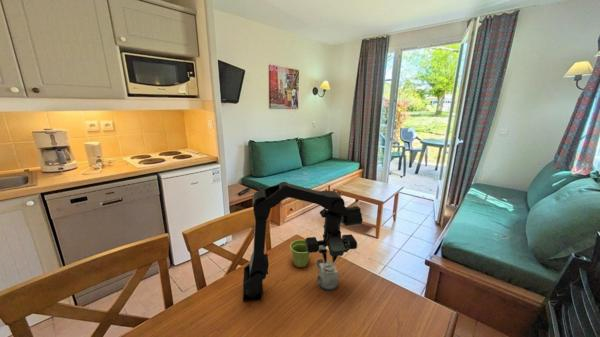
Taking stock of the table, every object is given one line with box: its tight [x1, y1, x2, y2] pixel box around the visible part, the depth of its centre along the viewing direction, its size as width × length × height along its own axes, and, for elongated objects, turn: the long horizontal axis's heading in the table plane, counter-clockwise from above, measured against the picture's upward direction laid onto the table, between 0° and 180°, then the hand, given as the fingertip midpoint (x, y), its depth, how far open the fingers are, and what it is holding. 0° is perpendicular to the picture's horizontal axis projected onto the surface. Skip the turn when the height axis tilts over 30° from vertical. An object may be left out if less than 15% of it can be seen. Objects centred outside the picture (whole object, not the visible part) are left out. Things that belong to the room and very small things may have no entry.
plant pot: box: [289, 239, 310, 268], centre depth 103 cm, size 9×9×9 cm
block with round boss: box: [318, 260, 339, 286], centre depth 92 cm, size 6×6×7 cm
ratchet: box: [316, 258, 339, 293], centre depth 97 cm, size 16×8×5 cm, turn 10°
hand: (329, 262), depth 90 cm, fingers open, 3 cm apart
